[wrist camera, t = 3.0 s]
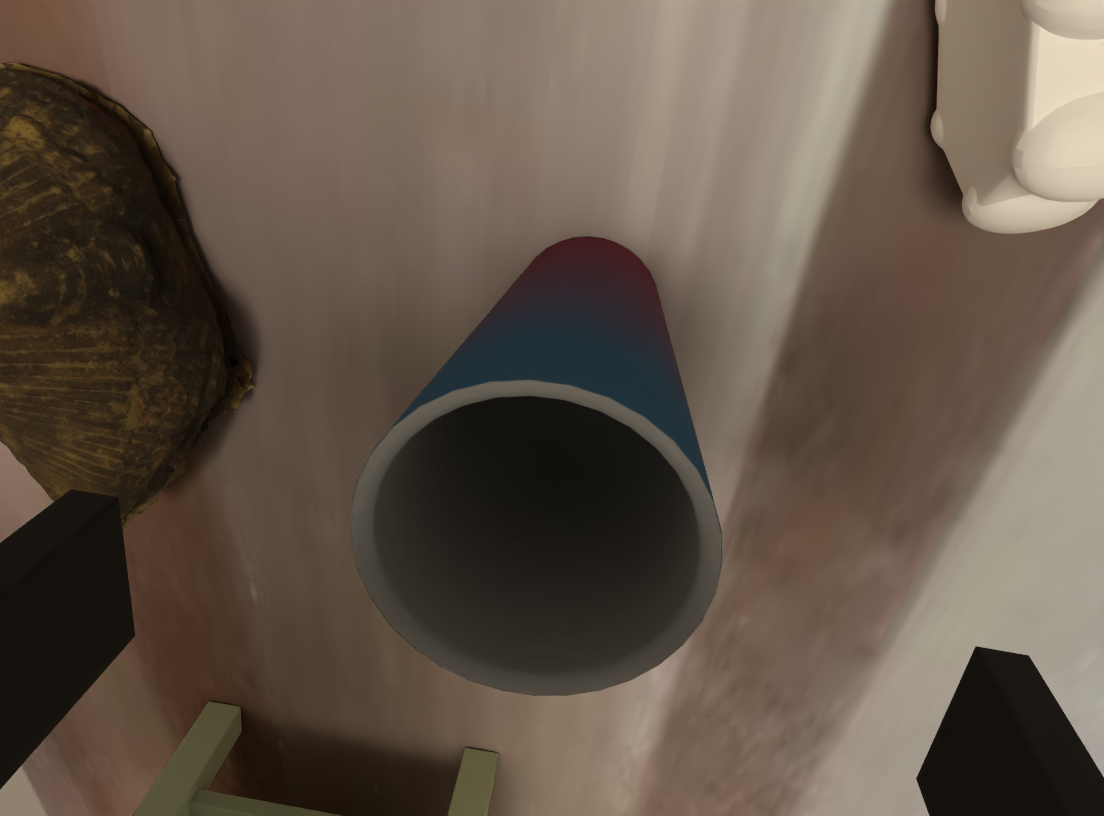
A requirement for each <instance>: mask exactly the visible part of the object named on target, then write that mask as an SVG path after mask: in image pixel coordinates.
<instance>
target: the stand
mask: <svg viewBox="0 0 1104 816" xmlns="http://www.w3.org/2000/svg"><path fill="white" fill-rule="evenodd" d="M241 732H242V723H241V707H239V706H233V705H227V704H222V703H216V702H211V701H209V702H208V703H207V705H206V706H205V708H204V709H203V711H202V712H201V714H200V715H199V717H198V718H197V720H196V721H195V723H194V724H193V726H192V727H191V729H190V730H189V732H188V733H187V735H186V736H185V738H184V739H183V741H182V742H181V744H180V745H179V747H178V748H177V750H176V751H175V753H174V754H173V756H172V757H171V759H170V760H169V762H168V763H167V765H166V766H165V768H164V769H163V771H162V772H161V774H160V775H159V777H158V778H157V780H156V781H155V783H154V784H153V786H152V787H151V789H150V790H149V792H148V793H147V795H146V796H145V798H144V799H143V801H142V802H141V804H140V805H139V807H138V808H137V810H136V811H135V813H134V814H133V816H343V815H337V814H332V813H326V812H321V811H316V810H310V809H305V808H299V807H294V806H289V805H283V804H278V803H272V802H267V801H261V800H256V799H251V798H245V797H240V796H234V795H229V794H224V793H218V792H213V791H207V789H208V788H209V786H210V784H211V782H212V781H213V779H214V777H215V776H216V774H217V772H218V771H219V769H220V767H221V765H222V764H223V762H224V760H225V759H226V757H227V755H228V754H229V752H230V750H231V749H232V747H233V745H234V743H235V742H236V740H237V738H238V737H239V735H240V733H241ZM497 760H498V754H497V753H493V752H487V751H482V750H476V749H471V748H465V750H464V753H463V757H462V761H461V765H460V769H459V773H458V777H457V780H456V784H455V788H454V792H453V796H452V800H451V804H450V808H449V811H448V815H447V816H487V815H488V810H489V805H490V800H491V795H492V790H493V786H494V781H495V775H496V768H497Z"/></svg>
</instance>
